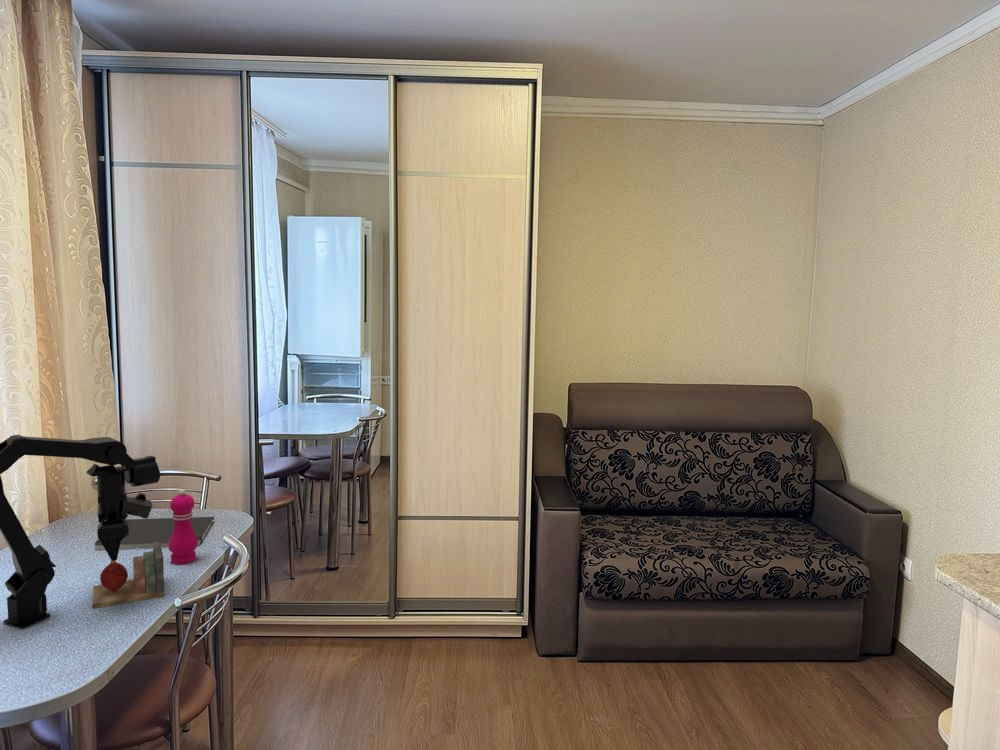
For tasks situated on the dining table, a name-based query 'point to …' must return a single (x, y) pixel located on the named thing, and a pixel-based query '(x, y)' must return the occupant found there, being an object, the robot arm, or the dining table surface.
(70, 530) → the dining table surface
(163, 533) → the notebook
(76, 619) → the dining table surface
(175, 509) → the pepper mill
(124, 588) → the book shelf
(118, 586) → the pomegranate
